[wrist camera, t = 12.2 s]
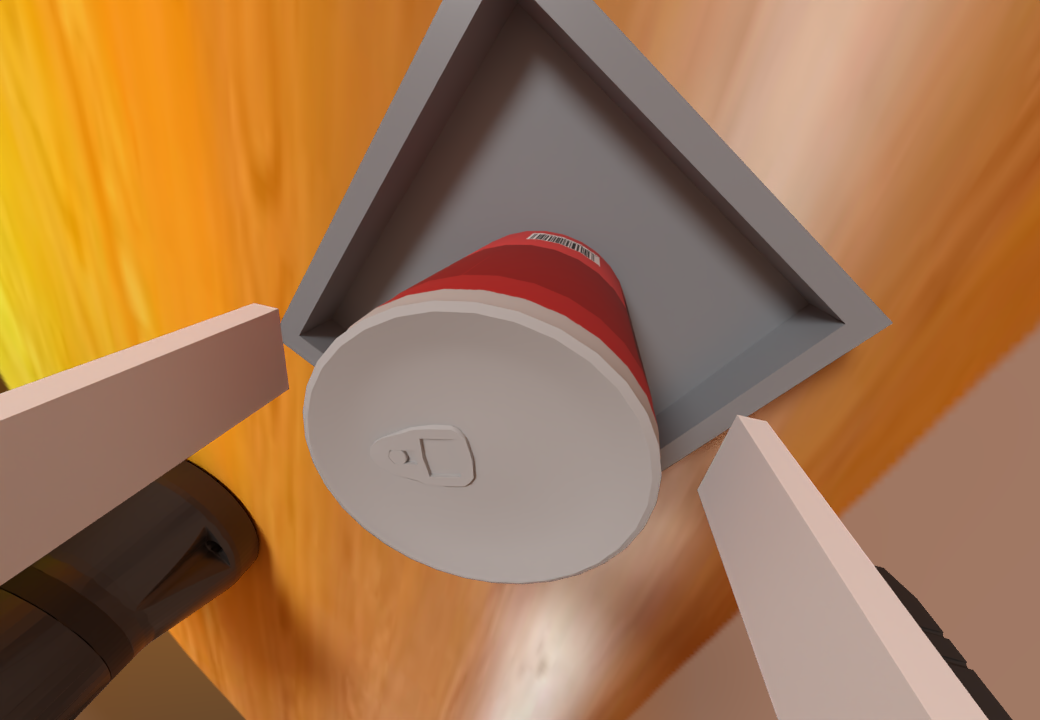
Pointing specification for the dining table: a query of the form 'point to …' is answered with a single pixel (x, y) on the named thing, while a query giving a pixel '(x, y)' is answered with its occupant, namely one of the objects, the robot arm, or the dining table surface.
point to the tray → (586, 210)
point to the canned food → (493, 416)
